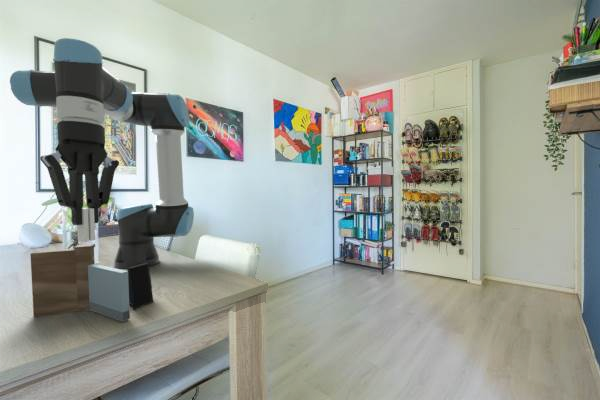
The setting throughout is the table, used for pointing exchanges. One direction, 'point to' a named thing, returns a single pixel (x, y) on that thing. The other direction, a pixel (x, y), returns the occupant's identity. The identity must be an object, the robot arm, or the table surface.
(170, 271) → the table surface
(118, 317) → the light blue flat panel
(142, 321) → the table surface
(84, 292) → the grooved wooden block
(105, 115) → the robot arm
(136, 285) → the speaker
